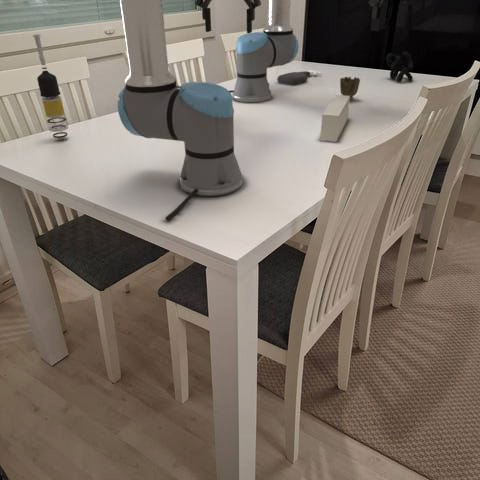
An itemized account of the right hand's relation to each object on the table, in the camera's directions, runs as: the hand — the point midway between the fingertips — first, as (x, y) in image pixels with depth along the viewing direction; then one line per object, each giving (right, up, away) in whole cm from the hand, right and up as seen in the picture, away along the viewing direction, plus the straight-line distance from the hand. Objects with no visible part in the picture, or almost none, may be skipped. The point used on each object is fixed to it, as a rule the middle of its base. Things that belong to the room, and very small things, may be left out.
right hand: (387, 28), depth 139 cm
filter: (-103, -34, +1) cm, 108 cm away
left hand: (-50, -1, -1) cm, 50 cm away
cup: (-4, -12, +34) cm, 36 cm away
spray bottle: (-19, +8, +66) cm, 69 cm away
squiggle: (+26, +6, +61) cm, 67 cm away
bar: (-16, -30, +5) cm, 34 cm away
